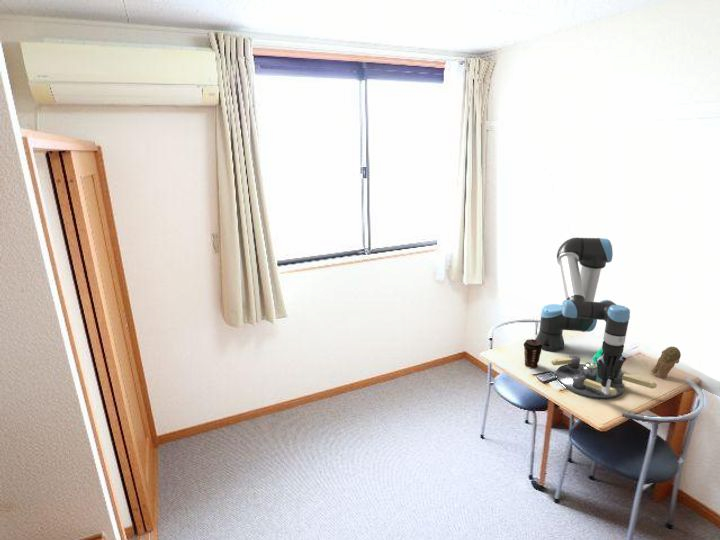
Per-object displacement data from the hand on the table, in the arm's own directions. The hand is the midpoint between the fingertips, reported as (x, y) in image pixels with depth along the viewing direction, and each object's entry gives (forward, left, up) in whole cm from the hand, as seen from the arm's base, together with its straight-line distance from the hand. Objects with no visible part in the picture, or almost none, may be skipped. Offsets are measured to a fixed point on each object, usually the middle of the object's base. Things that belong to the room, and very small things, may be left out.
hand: (604, 392), depth 177 cm
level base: (-16, +6, -5) cm, 18 cm away
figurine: (-13, +44, -6) cm, 46 cm away
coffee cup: (-36, -11, -6) cm, 39 cm away
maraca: (-27, +1, -3) cm, 28 cm away
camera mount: (-27, +24, -6) cm, 36 cm away
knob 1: (-6, -1, -3) cm, 6 cm away
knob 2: (-6, +19, -3) cm, 20 cm away
